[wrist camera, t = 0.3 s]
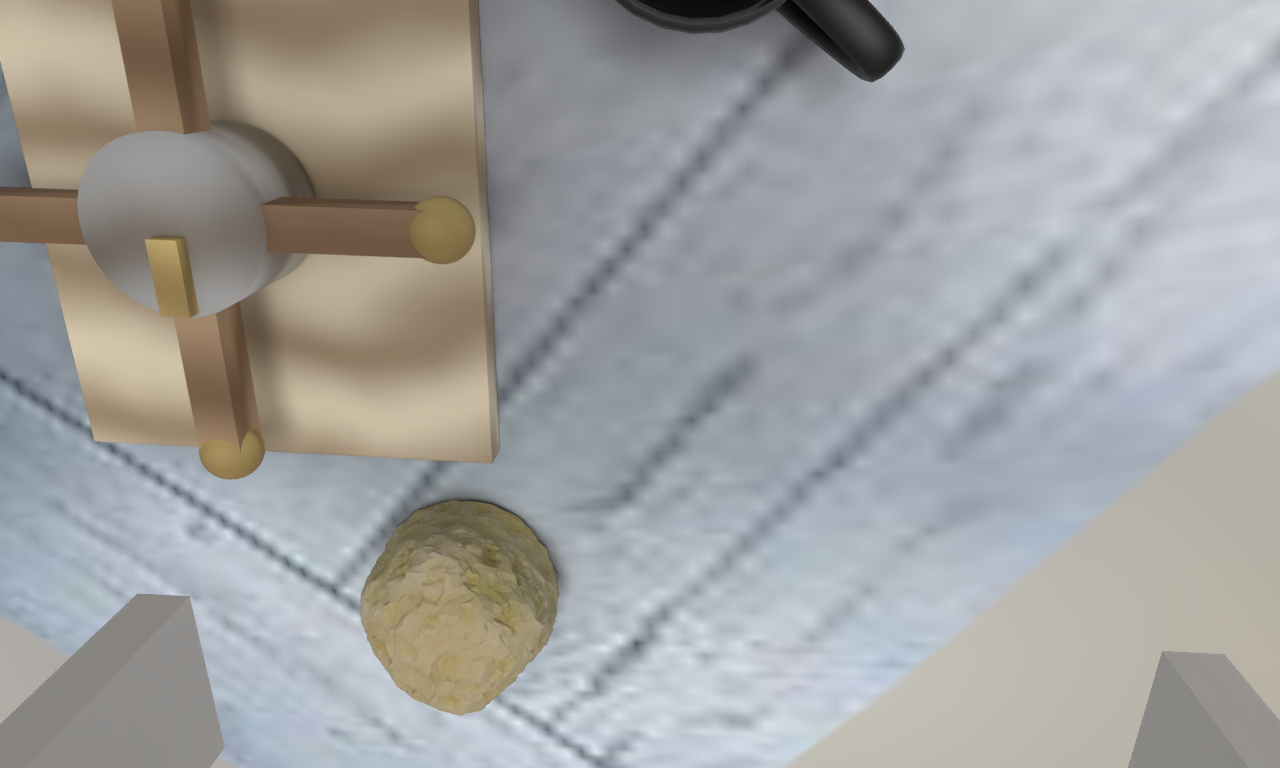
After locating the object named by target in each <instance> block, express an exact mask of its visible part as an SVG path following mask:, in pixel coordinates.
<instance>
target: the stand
mask: <svg viewBox="0 0 1280 768" xmlns="http://www.w3.org/2000/svg"><path fill="white" fill-rule="evenodd" d="M190 3H191V9H192V16H193V22H194V28H195V34H196V40H197V46H198V52H199V58H200V64H201V70H202V76H203V82H204V89H205V95H206V101H207V107H208V113H209V119H210V121H220V120H226V121H236V122H240V123H244V124H247V125H250V126H253V127H255V128H258V129H260V130H262V131H263V132H265V133H267V134H269V135H270V136H272V137H273V138H275V139H276V140H277V141H278V142H280V143H281V144H282V145H283V146H284V147H285V148H286V149H287V150H288V151H289V152H290V153H291V154H292V155H293V156H294V157H295V159H296V160H297V161H298V163H299V164H300V165H301V167H302V169H303V171H304V172H305V174H306V176H307V178H308V180H309V182H310V185H311V187H312V190H313V193H314V197H315V198H328V199H357V200H385V201H413V202H421V201H422V200H424V199H426V198H429V197H432V196H447V197H450V198H453V199H455V200H457V201H459V202H460V203H462V204H463V205H464V206H465V207H466V208H467V209H468V211H469V212H470V214H471V215H472V217H473V220H474V223H475V229H476V233H475V240H474V243H473V245H472V247H471V249H470V251H469V252H468V253H467V254H466V255H465V256H464V257H463V258H461V259H460V260H458V261H456V262H454V263H450V264H434V263H431V262H428V261H426V260H424V259H423V258H402V257H377V256H352V255H327V254H308V255H307V257H306V258H305V259H304V260H303V262H302V263H301V264H300V265H299V266H298V267H297V268H296V269H295V270H294V271H292V272H291V273H289V274H288V275H287V276H285V277H283V278H281V279H279V280H277V281H276V282H274V283H272V284H270V285H268V286H266V287H264V288H263V289H261V290H259V291H257V292H255V293H253V294H252V295H250V296H248V297H246V298H244V299H242V300H241V301H240V307H241V314H242V320H243V326H244V332H245V338H246V344H247V350H248V356H249V362H250V368H251V374H252V380H253V387H254V393H255V399H256V405H257V411H258V417H259V423H260V429H261V435H262V437H263V440H264V444H265V451H279V452H297V453H314V454H332V455H350V456H367V457H385V458H403V459H421V460H438V461H456V462H474V463H491V464H492V463H493V461H494V459H495V457H496V455H497V453H498V452H499V450H500V449H499V427H498V406H497V385H496V364H495V343H494V321H493V300H492V279H491V258H490V237H489V215H488V194H487V173H486V152H485V131H484V109H483V88H482V67H481V46H480V25H479V4H478V0H190ZM0 61H1V65H2V69H3V73H4V77H5V81H6V85H7V89H8V93H9V97H10V101H11V105H12V109H13V113H14V117H15V121H16V125H17V130H18V134H19V138H20V142H21V146H22V150H23V154H24V158H25V162H26V166H27V170H28V174H29V178H30V182H31V186H32V188H46V189H74V190H78V189H79V185H80V181H81V178H82V175H83V173H84V170H85V168H86V166H87V165H88V163H89V162H90V160H91V158H92V157H93V156H94V155H95V154H96V153H97V152H98V151H99V150H100V149H101V148H102V147H103V146H105V145H106V144H107V143H109V142H111V141H113V140H114V139H116V138H119V137H122V136H124V135H128V134H133V133H137V129H136V124H135V119H134V114H133V108H132V103H131V98H130V93H129V88H128V83H127V78H126V73H125V68H124V63H123V58H122V52H121V47H120V42H119V37H118V32H117V27H116V22H115V17H114V12H113V7H112V2H111V0H0ZM46 247H47V251H48V255H49V259H50V263H51V267H52V271H53V275H54V279H55V283H56V287H57V291H58V295H59V299H60V303H61V307H62V311H63V315H64V319H65V323H66V327H67V331H68V335H69V340H70V344H71V348H72V352H73V356H74V360H75V364H76V368H77V372H78V376H79V380H80V384H81V388H82V392H83V396H84V400H85V404H86V408H87V412H88V416H89V420H90V424H91V428H92V432H93V436H94V441H102V442H120V443H137V444H155V445H173V446H190V447H199V444H198V439H197V434H196V429H195V424H194V419H193V414H192V409H191V404H190V399H189V394H188V388H187V383H186V378H185V373H184V368H183V363H182V358H181V353H180V348H179V343H178V338H177V332H176V327H175V322H174V317H160V313H159V312H157V311H154V310H151V309H149V308H147V307H145V306H143V305H141V304H139V303H138V302H136V301H134V300H133V299H131V298H130V297H128V296H127V295H126V294H124V293H123V292H122V291H121V290H119V289H118V288H117V287H116V286H115V285H114V284H113V283H112V282H111V281H110V280H109V279H108V278H107V276H106V275H105V274H104V273H103V272H102V270H101V269H100V267H99V266H98V265H97V263H96V262H95V260H94V258H93V257H92V255H91V253H90V251H89V249H88V247H87V245H77V244H52V243H46Z"/></svg>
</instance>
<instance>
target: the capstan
mask: <svg viewBox="0 0 1280 768" xmlns="http://www.w3.org/2000/svg"><path fill="white" fill-rule="evenodd" d="M111 2H112V7H113V12H114V17H115V22H116V27H117V32H118V37H119V42H120V47H121V52H122V58H123V63H124V68H125V73H126V78H127V83H128V88H129V93H130V98H131V103H132V108H133V114H134V119H135V124H136V129H137V133H133V134H128V135H124V136H122V137H119V138H116V139H114V140H113V141H111V142H109V143H107V144H106V145H105V146H103V147H102V148H101V149H100V150H99V151H98V152H97V153H96V154H95V155H94V156H93V157H92V158H91V160H90V162H89V163H88V165H87V166H86V168H85V170H84V173H83V175H82V178H81V181H80V185H79V189H78V190H74V189H46V188H18V187H0V241H2V242H27V243H52V244H77V245H87V247H88V249H89V251H90V253H91V255H92V257H93V258H94V260H95V262H96V263H97V265H98V266H99V267H100V269H101V270H102V272H103V273H104V274H105V275H106V276H107V278H108V279H109V280H110V281H111V282H112V283H113V284H114V285H115V286H116V287H117V288H118V289H119V290H121V291H122V292H123V293H124V294H126V295H127V296H128V297H130V298H131V299H133V300H134V301H136V302H138V303H139V304H141V305H143V306H145V307H147V308H149V309H151V310H154V311H157V312H159V313H160V317H174V322H175V327H176V332H177V338H178V343H179V348H180V353H181V358H182V363H183V368H184V373H185V378H186V383H187V388H188V394H189V399H190V404H191V409H192V414H193V419H194V424H195V429H196V434H197V439H198V444H199V456H200V460H201V462H202V464H203V465H204V467H205V468H206V469H207V470H208V471H209V472H210V473H211V474H213V475H215V476H217V477H219V478H223V479H239V478H242V477H245V476H247V475H249V474H251V473H252V472H253V471H255V470H256V469H257V468H258V466H259V465H260V464H261V462H262V460H263V457H264V454H265V444H264V440H263V437H262V435H261V429H260V423H259V417H258V411H257V405H256V399H255V393H254V387H253V380H252V374H251V368H250V362H249V356H248V350H247V344H246V338H245V332H244V326H243V320H242V314H241V307H240V301H241V300H242V299H244V298H246V297H248V296H250V295H252V294H253V293H255V292H257V291H259V290H261V289H263V288H264V287H266V286H268V285H270V284H272V283H274V282H276V281H277V280H279V279H281V278H283V277H285V276H287V275H288V274H289V273H291V272H292V271H294V270H295V269H296V268H297V267H298V266H299V265H300V264H301V263H302V262H303V260H304V259H305V258H306V257H307V255H308V254H327V255H352V256H377V257H402V258H423V259H424V260H426V261H428V262H431V263H434V264H450V263H454V262H456V261H458V260H460V259H461V258H463V257H464V256H465V255H466V254H467V253H468V252H469V251H470V249H471V247H472V245H473V243H474V240H475V233H476V229H475V223H474V220H473V217H472V215H471V214H470V212H469V211H468V209H467V208H466V207H465V206H464V205H463V204H462V203H460V202H459V201H457V200H455V199H453V198H450V197H447V196H432V197H429V198H426V199H424V200H422V201H421V202H413V201H385V200H357V199H328V198H315V197H314V193H313V190H312V187H311V185H310V182H309V180H308V178H307V176H306V174H305V172H304V171H303V169H302V167H301V165H300V164H299V163H298V161H297V160H296V159H295V157H294V156H293V155H292V154H291V153H290V152H289V151H288V150H287V149H286V148H285V147H284V146H283V145H282V144H281V143H280V142H278V141H277V140H276V139H275V138H273V137H272V136H270V135H269V134H267V133H265V132H263V131H262V130H260V129H258V128H255V127H253V126H250V125H247V124H244V123H240V122H236V121H226V120H220V121H210V119H209V113H208V107H207V101H206V95H205V89H204V82H203V76H202V70H201V64H200V58H199V52H198V46H197V40H196V34H195V28H194V22H193V16H192V9H191V3H190V0H111Z"/></svg>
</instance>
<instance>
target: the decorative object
mask: <svg viewBox="0 0 1280 768" xmlns="http://www.w3.org/2000/svg"><path fill="white" fill-rule="evenodd" d="M551 561H552V560H550V559H549V555H548V549H546V548H545V547H544V546H543V545H542V544H541V543H540V542H539V540H538V539H537V537H536V536H535V534H534V532H533V530H532V529H531V528H529V527H528V526H527V525H526V524H525V523H524V522H523V521H522V519H520V518H519V517H518V516H516V515H514V514H512V513H510V512H508V511H505V510H502V509H500V508H498V507H496V506H494V505H491V504H487V503H482V502H474V501H458V500H450V501H448V502H442V503H438V504H435V505H432V506H429V507H426V508H424V509H421V510H416V511H415V512H414V513H412V514H411V516H410V517H409V519H408V520H407V521H406V522H404V523H403V524H401V525H399V526H398V527H397V528H396V529H395V530H394V531H393V534H392V537H391V539H390V540H389V542H388V543H387V544H386V548H385V551H384V552H383V554H382V555H381V556H380V557H379V558H378V560H377V561H376V564H375V566H374V567H373V569H372V571H371V573H370V574H369V576H368V578H367V580H366V583H365V586H364V588H363V591H362V593H361V611H360V616H361V622H362V625H363V627H364V629H365V632H366V634H367V640H368V641H369V642H370V644H371V647H372V650H373V652H374V654H375V655H376V657H377V658H378V659H379V661H380V662H381V663H382V664H383V666H384V667H385V669H386V670H387V672H388V673H389V674H390V676H391V678H392V680H393V681H394V682H395V684H396V686H397V687H398V688H400V689H401V690H403V691H405V692H407V694H408V695H409V696H410V697H411V698H413V699H415V700H417V701H420V702H423V703H425V704H427V705H429V706H431V707H433V708H436V709H438V710H440V711H445V712H449V713H452V714H456V715H464V714H465V713H471V712H476V711H481V710H482V709H484V707H485V706H486V705H487V704H489V703H490V701H491V700H492V699H494V698H496V697H498V695H499V694H500V693H501V692H502V691H503V690H504V689H505V688H506V687H508V686H509V685H510V684H511V683H513V682H515V681H516V678H517V675H518V674H519V673H521V672H523V670H524V668H525V666H526V665H527V664H528V663H529V662H531V661H533V660H534V658H535V657H536V655H537V654H538V653H539V652H540V651H541V650H542V648H543V647H544V646H545V645H547V642H548V640H549V637H550V635H551V633H552V631H553V625H554V622H555V617H556V614H557V600H558V597H559V590H558V587H557V583H556V580H557V577H558V573H557V571H556V568H553V565H552V562H551Z"/></svg>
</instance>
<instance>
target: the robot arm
mask: <svg viewBox="0 0 1280 768" xmlns="http://www.w3.org/2000/svg"><path fill="white" fill-rule="evenodd" d="M223 748H224V742H223V738H222V734H221V729H220V725H219V721H218V717H217V712H216V708H215V704H214V699H213V695H212V691H211V687H210V682H209V678H208V674H207V669H206V665H205V661H204V657H203V652H202V648H201V644H200V639H199V635H198V631H197V627H196V622H195V618H194V614H193V609H192V605H191V601H190V597H189V596H171V595H153V594H137V595H136V596H135V597H134V598H132V599H131V600H130V601H129V602H128V603H127V604H126V605H125V606H124V607H123V608H122V609H121V610H120V611H119V612H118V613H117V614H116V615H115V616H114V617H112V618H111V619H110V620H109V621H108V622H107V623H106V624H105V625H104V626H103V627H102V628H101V629H100V630H99V631H98V632H97V633H96V634H95V635H94V636H93V637H91V638H90V639H89V640H88V641H87V642H86V643H85V644H84V645H83V646H82V647H81V648H80V649H79V650H78V651H77V652H76V653H75V654H74V655H73V656H72V657H70V658H69V659H68V660H67V661H66V662H65V663H64V664H63V665H62V666H61V667H60V668H59V669H58V670H57V671H56V672H55V673H54V674H53V675H52V676H51V677H49V678H48V679H47V680H46V681H45V682H44V683H43V684H42V685H41V686H40V687H39V688H38V689H37V690H36V691H35V692H34V693H33V694H32V695H31V696H30V697H28V698H27V699H26V700H25V701H24V702H23V703H22V704H21V705H20V706H19V707H18V708H17V709H16V710H15V711H14V712H13V713H12V714H11V715H10V716H8V717H7V718H6V719H5V720H4V721H3V722H2V723H1V724H0V768H210V767H211V766H212V764H213V763H214V761H215V760H216V758H217V757H218V756H219V754H220V753H221V751H222V750H223ZM1128 768H1280V720H1279V719H1278V718H1277V717H1276V715H1275V714H1274V713H1273V712H1272V711H1271V709H1270V708H1269V707H1268V706H1267V705H1266V704H1265V702H1264V701H1263V700H1262V699H1261V698H1260V696H1259V695H1258V694H1257V693H1256V692H1255V690H1254V689H1253V688H1252V687H1251V686H1250V684H1249V683H1248V682H1247V681H1246V680H1245V679H1244V677H1243V676H1242V675H1241V674H1240V672H1239V671H1238V670H1237V669H1236V668H1235V666H1234V665H1233V664H1232V663H1231V662H1230V660H1229V659H1228V658H1227V657H1226V656H1225V655H1224V654H1207V653H1188V652H1171V651H1162V654H1161V657H1160V661H1159V664H1158V668H1157V671H1156V675H1155V678H1154V681H1153V685H1152V688H1151V692H1150V695H1149V698H1148V702H1147V705H1146V709H1145V712H1144V716H1143V719H1142V722H1141V726H1140V729H1139V733H1138V736H1137V739H1136V743H1135V746H1134V750H1133V753H1132V757H1131V760H1130V763H1129V767H1128Z"/></svg>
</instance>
